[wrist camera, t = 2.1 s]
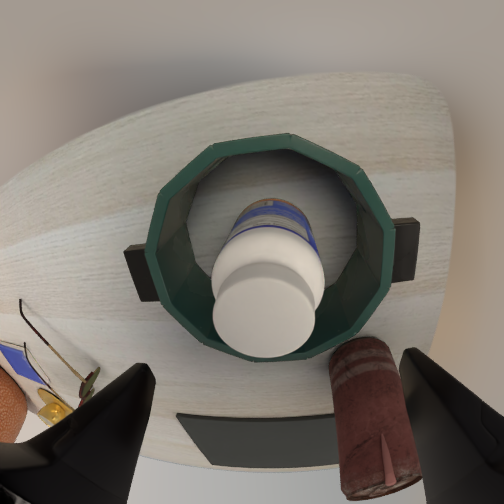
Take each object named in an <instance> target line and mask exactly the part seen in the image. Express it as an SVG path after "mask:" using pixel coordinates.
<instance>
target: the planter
mask: <svg viewBox="0 0 504 504" xmlns="http://www.w3.org/2000/svg"><path fill="white" fill-rule="evenodd" d="M26 415H27V402H26V399H25V396H24V394H23V392H22V391H21V389H20V388H19V387H18V385H17V384H16V383H15V382H14V381H13V379H12V378H11V377H10V376H9V375H8V374H7V373H6V372H5V371H4V370H3V369H2V368H0V442H5V443H14V442H15V440H16V438H17V436H18V434H19V432H20V430H21V428H22V425H23V423H24V421H25V418H26Z"/></svg>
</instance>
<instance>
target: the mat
mask: <svg viewBox="0 0 504 504" xmlns="http://www.w3.org/2000/svg"><path fill="white" fill-rule="evenodd" d="M176 417H177V419H178V420H179V422H180V423H181V425H182V426H183V427H184V429H185V430H186V432H187V433H188V434H189V436H190V437H191V439H192V440H193V441H194V443H195V444H196V445H197V447H198V448H199V449H200V451H201V452H202V453H203V454H204V456H205V457H206V458H207V459H208V461H209V462H210V463H211V464H212V465H218V466H228V467H243V468H298V467H313V466H324V465H332V464H339V453H338V442H337V432H336V422H335V414H328V415H318V416H307V417H292V418H223V417H208V416H197V415H187V414H178V413H177V415H176Z"/></svg>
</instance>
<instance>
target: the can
mask: <svg viewBox="0 0 504 504" xmlns="http://www.w3.org/2000/svg"><path fill="white" fill-rule="evenodd" d="M329 374H330V381H331V389H332V396H333V405H334V413H335V422H336V432H337V442H338V453H339V466H340V481H341V490H342V492H343V493H344V494H345V495H346V498H347V500H350V501H360V500H368V499H373V498H378V497H382V496H385V495H389V494H392V493H395V492H398V491H400V490H402V489H405V488H407V487H409V486H411V485H413V484H415V483H417V482H418V481H420V480H421V479H422V473H421V468H420V463H419V458H418V454H417V449H416V445H415V441H414V437H413V433H412V429H411V425H410V421H409V418H408V414H407V410H406V406H405V400H404V394H403V388H402V383H401V379H400V376H399V373H398V370H397V368H396V365H395V362H394V360H393V357H392V354H391V352H390V349H389V347H388V346H387V345H386V344H385V342H383V341H380V340H378V339H376V338H372V337H362V338H356V339H354V340H351V341H349V342H347V343H345V344H344V345H342V346H341V347H340V348H339V349H338V350H337V351H336V352H335V353H334V355H333V356H332V358H331V360H330V362H329Z"/></svg>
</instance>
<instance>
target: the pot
mask: <svg viewBox="0 0 504 504" xmlns="http://www.w3.org/2000/svg"><path fill="white" fill-rule="evenodd" d="M288 148H289V149H291V150H293V151H296V152H298V153H300V154H302V155H305V156H307V157H309V158H311V159H313V160H316V161H318V162H320V163H322V164H324V165H326V166H328V167H330V168H332V169H334V171H335V172H336V173H337V175H338V176H339V178H340V179H341V181H342V183H343V184H344V186H345V187H346V189H347V190H348V192H349V193H350V195H351V197H352V198H353V200H354V201H355V203H356V206H357V248H356V250H355V252H354V254H353V255H352V257H351V259H350V261H349V262H348V264H347V266H346V267H345V269H344V271H343V272H342V274H341V276H340V277H339V279H338V280H337V282H336V283H335V284H334V285H332V286H330V287H329V288H327V289H325V290H324V292H323V296H322V299H321V301H320V304H319V305H318V307H317V309H316V310H315V324H314V329H313V331H312V333H311V335H310V337H309V338H308V340H307V341H306V342H305V343H304V344H303V345H302V346H300V347H299V348H298V349H296V350H295V351H293V352H291V353H288V354H286V355H283V356H279V357H272V358H260V357H253V356H249V355H246V354H243V353H240V352H238V351H236V350H234V349H233V348H231V347H230V346H229V345H227V344H226V343H225V342H224V341H223V340H222V339H221V337H220V336H219V334H218V333H217V331H216V329H215V326H214V322H213V308H214V304H215V301H216V300H215V297H214V294H213V290H212V280H211V279H210V278H209V277H208V276H207V275H206V274H205V273H204V271H203V270H202V269H201V268H200V267H199V266H198V265H197V264H196V262H195V258H194V254H193V250H192V246H191V242H190V238H189V234H188V229H187V225H186V220H187V217H188V214H189V211H190V207H191V204H192V201H193V198H194V195H195V192H196V189H197V186H198V183H199V181H200V180H201V179H202V178H203V177H205V176H206V175H207V174H208V173H209V172H211V171H212V170H213V169H214V168H215V167H217V166H218V165H219V164H220V163H222V162H223V161H224V160H225V159H227V158H228V157H229V156H233V155H240V154H247V153H254V152H262V151H270V150H279V149H288ZM419 233H420V222H418V221H417V220H416V219H414V218H413V217H412V218H397V219H391V218H390V216H389V214H388V212H387V210H386V208H385V207H384V205H383V203H382V201H381V199H380V198H379V196H378V194H377V192H376V191H375V189H374V187H373V185H372V184H371V182H370V180H369V179H368V177H367V175H366V174H365V172H364V170H363V169H361V168H360V166H358V165H357V164H355V163H353V162H351V161H349V160H347V159H345V158H343V157H341V156H339V155H337V154H335V153H333V152H331V151H329V150H327V149H325V148H323V147H321V146H319V145H317V144H315V143H312V142H310V141H308V140H306V139H304V138H301V137H299V136H297V135H295V134H289V133H285V134H275V135H267V136H259V137H252V138H245V139H238V140H232V141H226V142H220V143H214V144H213V145H210V146H209V147H207V148H206V149H205V150H204V151H203V152H202V153H200V154H199V155H198V156H197V157H196V158H195V159H193V160H192V161H191V162H190V163H189V164H188V165H187V166H186V167H185V168H183V169H182V170H181V171H180V172H179V173H178V174H177V175H176V176H175V177H174V178H173V179H171V180H170V181H169V182H168V183H167V184H166V185H165V186H164V187H163V188H162V189H161V190H160V193H159V194H158V196H157V200H156V204H155V208H154V212H153V216H152V220H151V224H150V228H149V232H148V237H147V241H146V243H145V244H137V245H130V246H129V247H128V248H127V249H126V250H125V251H124V252H123V253H124V256H125V259H126V262H127V265H128V268H129V271H130V273H131V276H132V279H133V282H134V285H135V287H136V290H137V293H138V295H139V298H140V300H141V302H153V301H160V302H161V305H163V307H164V308H165V309H166V310H167V311H168V312H169V313H170V314H171V315H172V316H173V317H174V318H175V319H176V320H177V321H178V322H179V323H180V324H181V325H182V326H183V327H184V328H185V329H186V330H187V331H188V332H189V333H190V334H192V335H193V336H194V337H195V338H196V339H197V340H198V341H199V342H200V343H203V345H206V346H208V347H211V348H214V349H217V350H219V351H222V352H225V353H228V354H230V355H233V356H236V357H239V358H242V359H245V360H248V361H251V362H253V360H254V362H277V361H293V360H306V359H307V357H308V358H311V357H314V356H316V355H318V354H320V353H322V352H324V351H326V350H328V349H330V348H332V347H334V346H336V345H338V344H339V343H341V342H343V341H345V340H347V339H349V338H351V337H353V336H354V335H356V333H358V332H359V331H360V330H361V328H362V327H363V326H364V325H365V323H366V322H367V321H368V319H369V318H370V317H371V315H372V314H373V312H374V311H375V310H376V308H377V307H378V306H379V304H380V303H381V301H382V300H383V298H384V297H385V296H386V294H387V293H388V291H389V288H390V287H391V283H396V282H403V281H410V280H414V276H415V269H416V261H417V253H418V244H419Z"/></svg>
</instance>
